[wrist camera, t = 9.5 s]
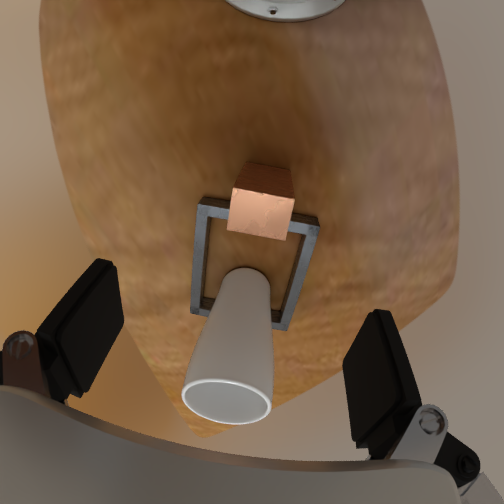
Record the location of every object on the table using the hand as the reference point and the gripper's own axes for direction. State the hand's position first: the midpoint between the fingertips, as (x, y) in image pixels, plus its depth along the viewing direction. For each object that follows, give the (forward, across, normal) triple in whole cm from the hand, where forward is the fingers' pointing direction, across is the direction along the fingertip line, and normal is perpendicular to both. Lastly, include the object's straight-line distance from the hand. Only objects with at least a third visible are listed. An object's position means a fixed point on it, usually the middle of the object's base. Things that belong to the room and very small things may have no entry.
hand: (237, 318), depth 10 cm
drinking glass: (+18, 0, +12) cm, 22 cm away
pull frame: (+18, 0, +7) cm, 20 cm away
